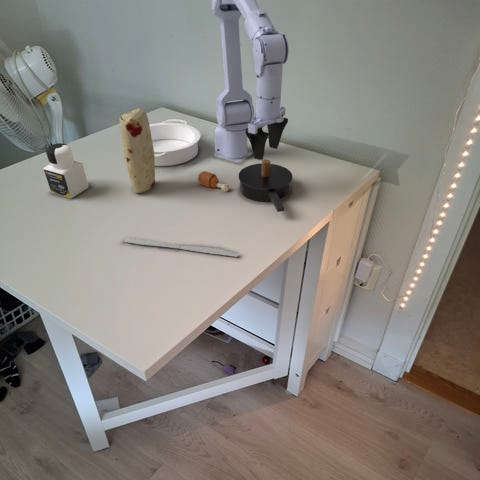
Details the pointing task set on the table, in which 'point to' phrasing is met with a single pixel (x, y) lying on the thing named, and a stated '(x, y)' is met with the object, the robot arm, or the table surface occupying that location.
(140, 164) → the food model
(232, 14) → the robot arm
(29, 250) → the table surface
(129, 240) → the butter knife
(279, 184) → the pan lid
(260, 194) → the pan
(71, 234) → the table surface
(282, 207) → the pan handle
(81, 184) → the medicine bottle
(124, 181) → the table surface
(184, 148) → the pot
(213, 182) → the drumstick
